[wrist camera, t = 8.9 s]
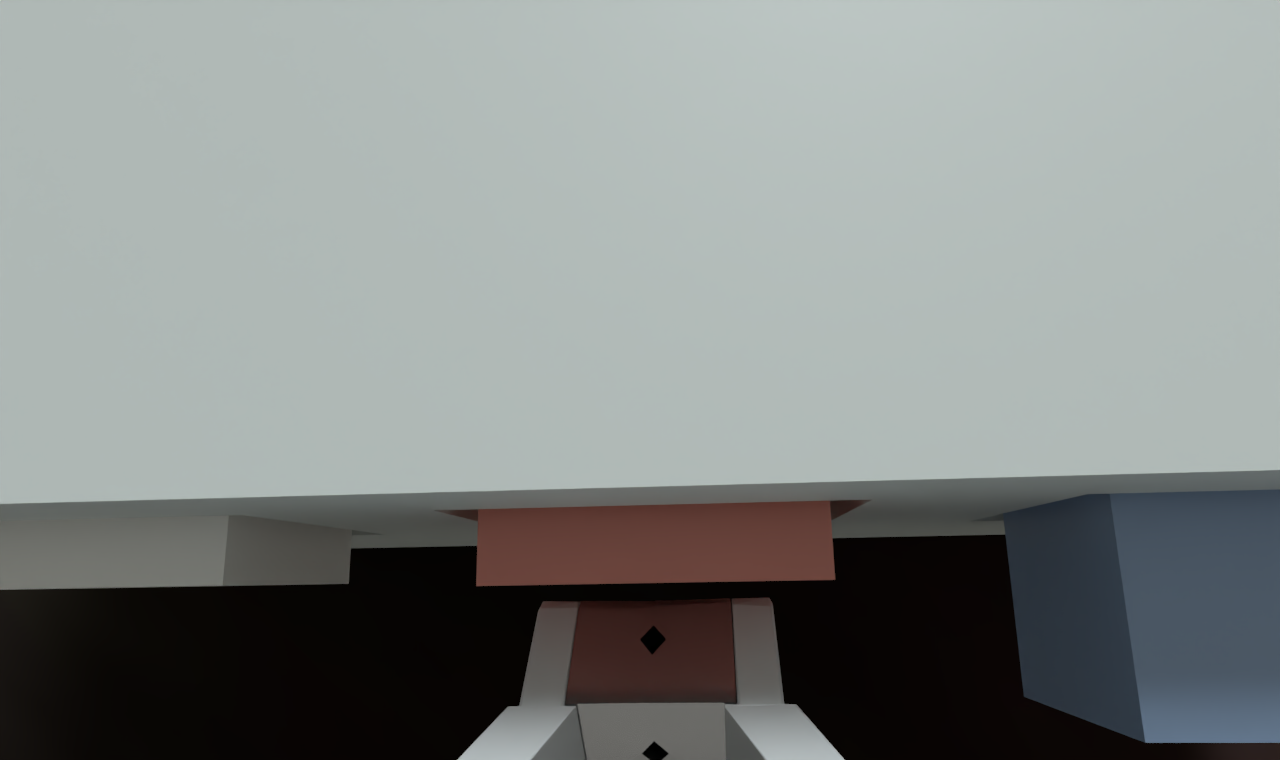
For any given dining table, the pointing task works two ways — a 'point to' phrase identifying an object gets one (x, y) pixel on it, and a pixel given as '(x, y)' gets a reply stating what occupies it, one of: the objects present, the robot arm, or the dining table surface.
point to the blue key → (1152, 612)
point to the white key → (170, 553)
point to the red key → (655, 544)
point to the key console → (634, 257)
